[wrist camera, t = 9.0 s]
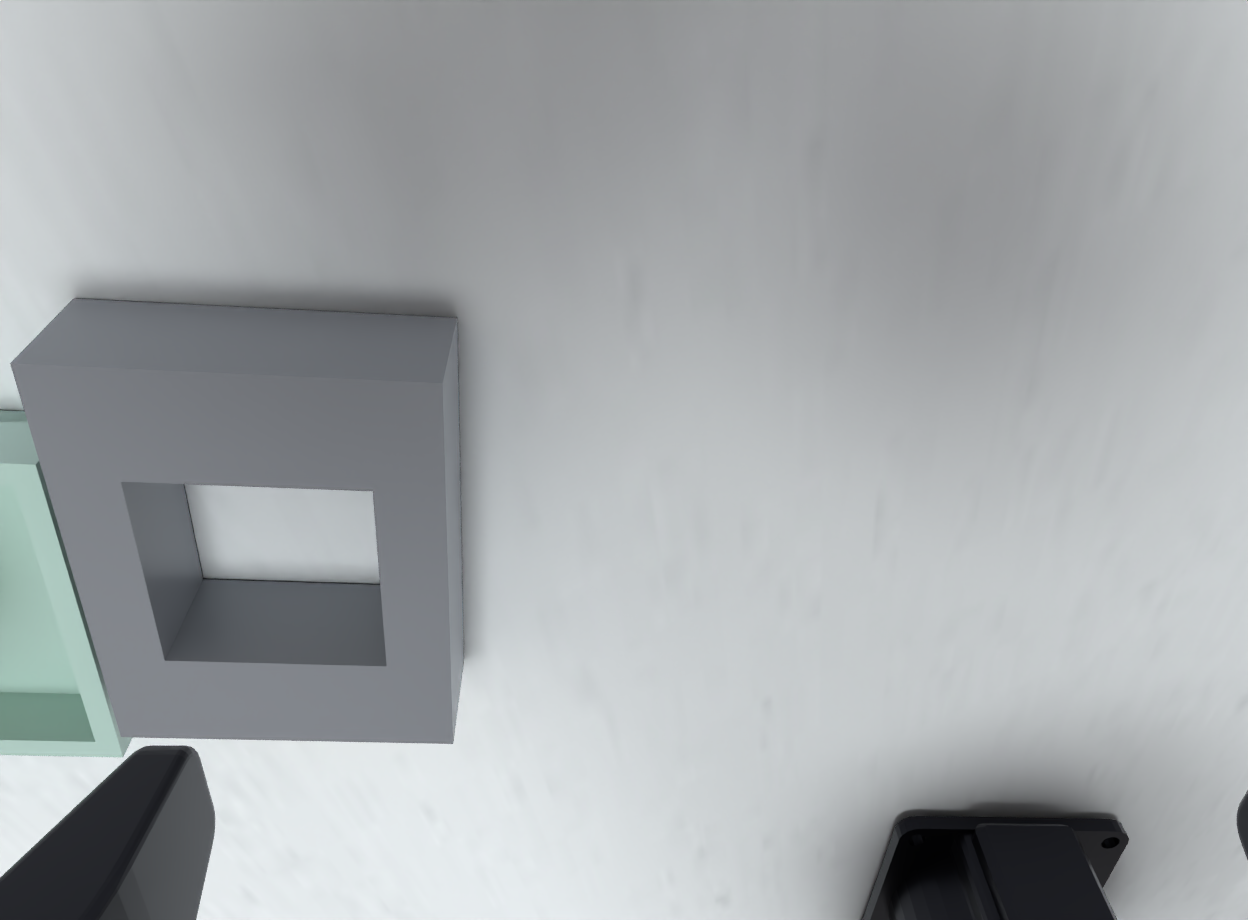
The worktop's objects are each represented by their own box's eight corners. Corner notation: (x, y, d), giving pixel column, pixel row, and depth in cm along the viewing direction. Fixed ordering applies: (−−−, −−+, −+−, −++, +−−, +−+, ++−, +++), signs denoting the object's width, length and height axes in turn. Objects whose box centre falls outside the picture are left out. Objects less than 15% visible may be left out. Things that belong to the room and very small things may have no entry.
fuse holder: (464, 664, 24) (452, 747, 22) (161, 656, 24) (122, 740, 22) (457, 317, 19) (442, 383, 17) (73, 298, 19) (10, 363, 17)
